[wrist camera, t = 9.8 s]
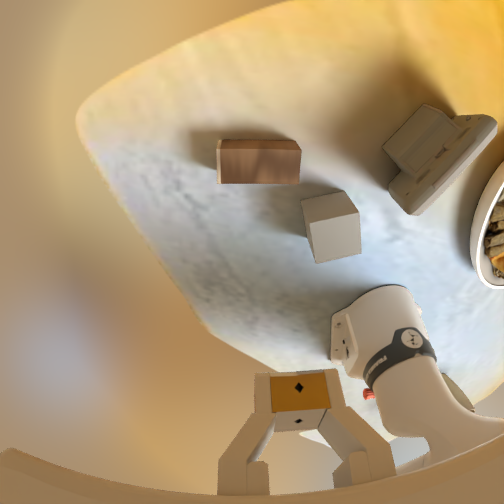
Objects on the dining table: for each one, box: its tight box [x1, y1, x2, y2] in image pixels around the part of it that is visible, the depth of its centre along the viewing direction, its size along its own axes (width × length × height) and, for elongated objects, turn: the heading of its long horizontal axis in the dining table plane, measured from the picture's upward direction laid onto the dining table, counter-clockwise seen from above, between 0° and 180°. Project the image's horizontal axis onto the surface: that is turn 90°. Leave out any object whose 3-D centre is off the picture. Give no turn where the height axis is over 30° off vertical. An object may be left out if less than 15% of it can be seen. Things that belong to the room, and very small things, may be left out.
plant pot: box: [441, 374, 476, 413], centre depth 67 cm, size 15×15×16 cm
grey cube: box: [300, 191, 361, 264], centre depth 38 cm, size 6×6×6 cm
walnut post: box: [216, 140, 301, 184], centre depth 34 cm, size 4×4×9 cm
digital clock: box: [382, 104, 497, 216], centre depth 30 cm, size 16×9×11 cm, turn 129°
